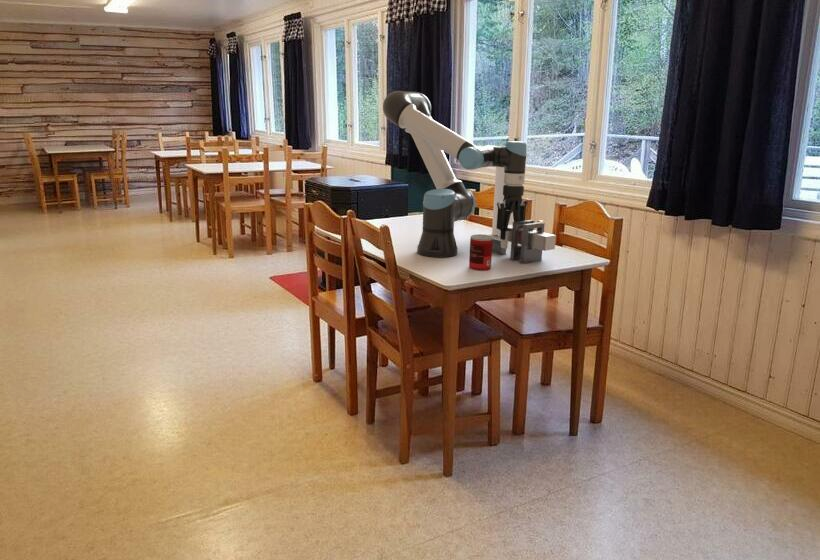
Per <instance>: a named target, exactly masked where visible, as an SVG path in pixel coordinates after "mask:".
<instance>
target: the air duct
mask: <svg viewBox="0 0 820 560" xmlns="http://www.w3.org/2000/svg"><path fill="white" fill-rule="evenodd" d="M512 227H513V225H508V227H507V231H508V242H510V243H511V241H512ZM522 231H523V227H518V238H517V244H518V245H521V244H522ZM556 241H557V235H556V234H552V233H548V232H545V231H544V232H540V231H537V230H535V229H534V230H531V229H529V230H528V243H527V246H528V247H532V248H536V249H540V250H542V251H545V252H546V251H552V250H555V248H556Z"/></svg>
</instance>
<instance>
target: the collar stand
mask: <svg viewBox="0 0 820 560" xmlns="http://www.w3.org/2000/svg"><path fill="white" fill-rule="evenodd" d="M519 226H523V227H522V228H523V231H522V244H521V245H520V244H518V246H517V238H518V227H519ZM545 226H546V225H545V220H537V222H535V220H534V219H527V220H526V219H525V221H518V222H513V227H512V241H511V242H510V258H509V260H510V261H512V262H515V261H519V263H520V264H521V265H523V264H530V263H536V262H541V261H543V259H542V258H543V257H542V256H543V250H540V249H536V248H532V247H528V246H527V243H528V230H529V229H531V230H535V229H536V231H540V232H544V233H545Z"/></svg>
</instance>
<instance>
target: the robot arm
mask: <svg viewBox="0 0 820 560" xmlns="http://www.w3.org/2000/svg"><path fill="white" fill-rule="evenodd" d="M382 111H383V114H384V117H385V118H386V120H388V121H390V123H393V124H394V125H396V127H399V128H401V129H404V131H405V132H406V133H408V134H410V135H411V137H412V139H413V141H414V143H415V146H416V148H417V150H418V152H419V154H420V156H421V158H422V160H423V163H424V165H425V168H426V169H427V171H428V174H429V175H430V178H431V180H432V182H433V184H434V186H435V188H436V189H435V188H434V189H431V190H428V191H426V192H425V193H424V195H423V201H422V232H421V236H420V239H419V242H418V244H417V250H416V252H417V254H418V255H421V256H424V257H431V258H448V257H449V258H450V257H455V256H456V255H458V245H457V241H456V238H455V235H454V234H455V233H454V231H455V230H454V229H455V228H454V227H455V222H457V221H458V222H459V221H464V220H465V219H467V218H470V216H471V215H472V214H473V213H474V211H475V208H476V206H477V205H476V204H477V202H476V201H477V200H476V197H475V194H474V193H473V192H472V191H471V190H469V189H468V188H466V186H465V184H464V183H463V181H462V180H460V179H459V178H458V179H457V177H456V175H455V173H454V171H453V168H452V167H451V164H450V162H449V160H448V158H447V156H446V154H447V155H450V156H451V157H453V159H455V160H457V161H459V164H460V166H461V167H462V168H464V169H466V170H477V169H482V168H487V167H495V168H496V167H504V182H503V183H504V184H505V185H504V186H503V195H504V199H503V202H501V203H499V202H498V203H497V207H498V214H497V229H499V230H500V231H501V235H500V238H499V239H501V248H505V249H506V250H507V249H508V244H509V243H508V242H509V241H508V231H507V227H508V223H509V219H510V215H511V213H512V212H513V219H514V222H518V221H526V214H527V205H528V203H529V202H528V201H527V200H524V199H523V196H524V193H525V191H524V190H525V186H524V184H525V180H526V179H525V178H526V177H525V175H526V165H527V157H528V156H527V155H528V154H527V151H528V150H527V149H528V148H527V147H528V145H527V142H525V141H521V140H519V141H518V140H517V141H515V140H508V141H506V143H505V146H502V145H501V146H500V145H488V144H480V145H479V144H478V145H476V144H474V143H472V142H471V141H469V140H467V139H466V138H464V137H462V136H461V135H459V134H458V133H456V132H455V131H452V130H451V129H450V128H448V127H446V126H444V125H443V124H441V123H439V122H438V121H436V120H434V119H433V117H432V115H431V114H432V104H431V101H430V99H429V98H428V97H427V96H426V95H425V94H423V92H422V93H421V92H418V91H415V90H413V91H406V90H405V91H404V90H396V91H392V92H389V94H388V95H386V96H385V98H384V100H383V102H382ZM445 153H446V154H445ZM508 210H509V211H508ZM519 227H522V228H523V226H519ZM517 246H519V244H517Z"/></svg>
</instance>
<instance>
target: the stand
mask: <svg viewBox="0 0 820 560" xmlns="http://www.w3.org/2000/svg"><path fill="white" fill-rule="evenodd" d="M492 237H493V236H492ZM492 253H495V254H499V255H505V254H507V249H505V248H501V239H500V238H497V237H495V236H494V237H493V246H492Z"/></svg>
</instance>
